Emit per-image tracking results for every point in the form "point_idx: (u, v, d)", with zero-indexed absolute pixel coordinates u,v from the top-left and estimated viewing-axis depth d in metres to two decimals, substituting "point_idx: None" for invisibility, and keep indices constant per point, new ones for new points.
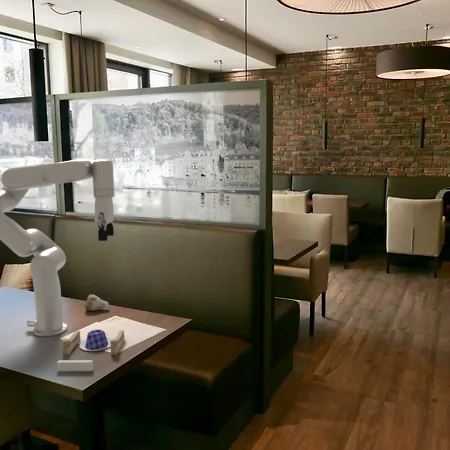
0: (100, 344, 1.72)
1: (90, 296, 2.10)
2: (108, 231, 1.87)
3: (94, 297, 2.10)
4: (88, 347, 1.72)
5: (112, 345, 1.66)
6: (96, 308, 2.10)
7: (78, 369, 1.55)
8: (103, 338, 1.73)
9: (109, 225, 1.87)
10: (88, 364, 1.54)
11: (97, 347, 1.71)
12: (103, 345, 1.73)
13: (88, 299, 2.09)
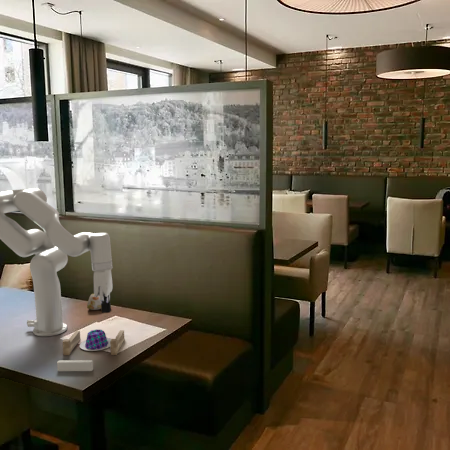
0: (100, 344, 1.72)
1: (92, 295, 2.11)
2: None
3: None
4: (88, 347, 1.72)
5: (112, 345, 1.66)
6: (98, 307, 2.11)
7: (78, 369, 1.55)
8: (103, 338, 1.73)
9: None
10: (88, 364, 1.54)
11: (98, 347, 1.71)
12: (103, 345, 1.73)
13: (90, 298, 2.10)
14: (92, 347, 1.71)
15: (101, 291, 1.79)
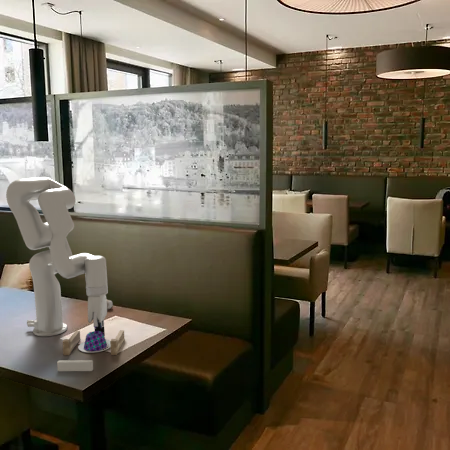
0: (100, 345, 1.71)
1: None
2: None
3: None
4: (88, 349, 1.70)
5: (112, 345, 1.66)
6: None
7: (78, 369, 1.55)
8: (103, 339, 1.72)
9: None
10: (88, 364, 1.54)
11: (97, 349, 1.70)
12: (103, 346, 1.72)
13: None
14: (92, 349, 1.70)
15: (95, 317, 1.73)
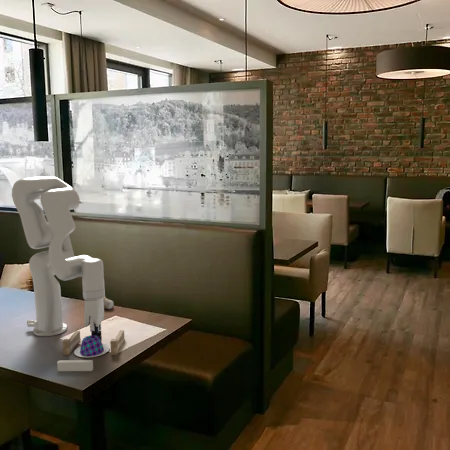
0: (97, 350, 1.67)
1: None
2: None
3: None
4: (84, 354, 1.66)
5: (112, 345, 1.66)
6: None
7: (78, 369, 1.55)
8: (99, 344, 1.68)
9: None
10: (88, 364, 1.54)
11: (94, 353, 1.66)
12: (99, 351, 1.68)
13: None
14: (88, 354, 1.66)
15: (92, 321, 1.69)
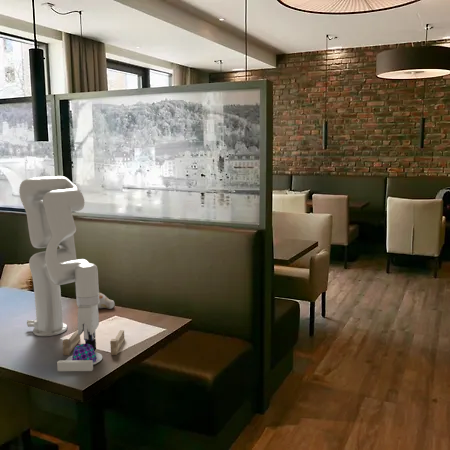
0: (88, 359, 1.59)
1: None
2: None
3: (100, 295, 2.13)
4: None
5: (112, 345, 1.66)
6: (101, 306, 2.12)
7: (78, 369, 1.55)
8: (91, 353, 1.61)
9: None
10: (88, 364, 1.54)
11: None
12: None
13: None
14: None
15: (86, 329, 1.61)
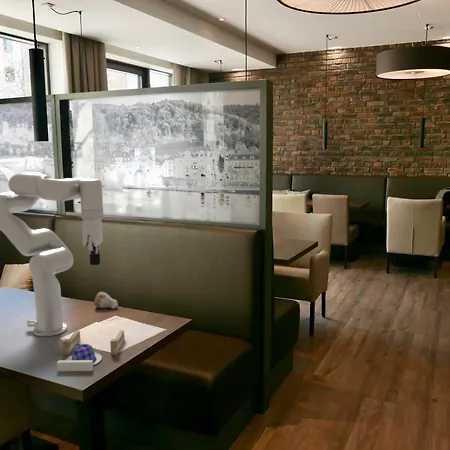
0: None
1: (99, 293, 2.14)
2: None
3: (103, 295, 2.13)
4: None
5: (112, 345, 1.66)
6: (104, 306, 2.13)
7: (78, 369, 1.55)
8: (91, 353, 1.61)
9: None
10: (88, 364, 1.54)
11: None
12: None
13: (97, 296, 2.12)
14: None
15: (90, 240, 1.68)
